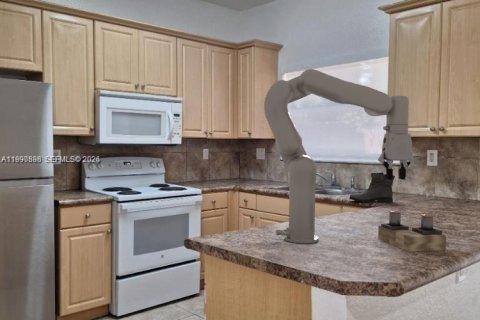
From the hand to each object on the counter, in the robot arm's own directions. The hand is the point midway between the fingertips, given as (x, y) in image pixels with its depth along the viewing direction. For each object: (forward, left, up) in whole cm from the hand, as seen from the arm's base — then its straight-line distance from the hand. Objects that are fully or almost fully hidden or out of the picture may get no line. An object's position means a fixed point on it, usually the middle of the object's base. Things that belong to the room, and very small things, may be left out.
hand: (395, 178), depth 158 cm
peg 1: (0, 0, -19) cm, 19 cm away
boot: (+49, +108, -24) cm, 121 cm away
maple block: (+4, -5, -23) cm, 24 cm away
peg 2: (+7, -9, -19) cm, 22 cm away
